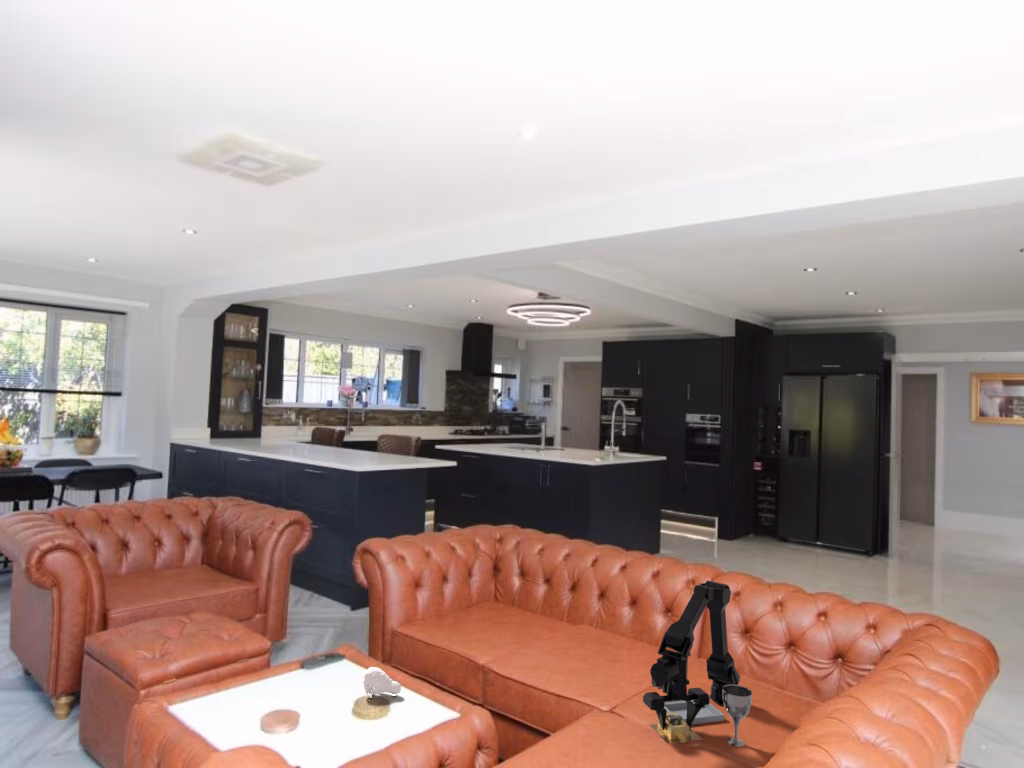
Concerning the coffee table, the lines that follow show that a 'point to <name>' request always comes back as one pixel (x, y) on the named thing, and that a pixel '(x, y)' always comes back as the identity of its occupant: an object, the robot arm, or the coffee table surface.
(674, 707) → the tray
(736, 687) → the wine glass
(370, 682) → the grey lumpy shape
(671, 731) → the gold hollow rectangular block
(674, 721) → the brown peg base plate
